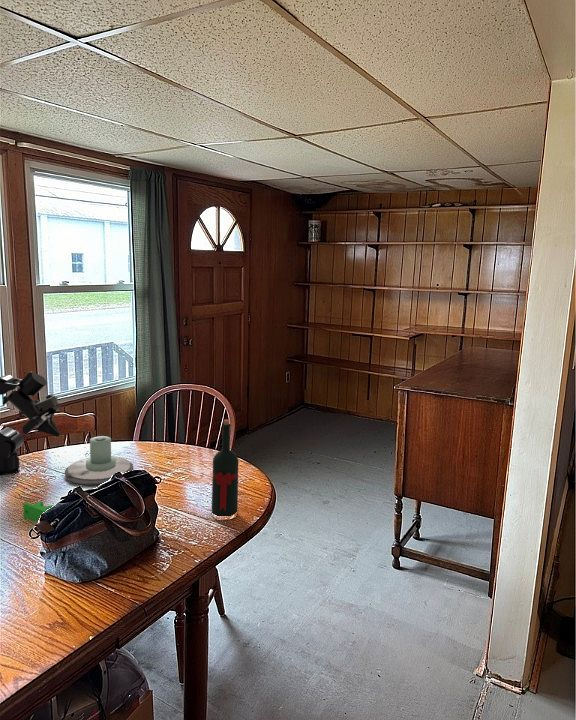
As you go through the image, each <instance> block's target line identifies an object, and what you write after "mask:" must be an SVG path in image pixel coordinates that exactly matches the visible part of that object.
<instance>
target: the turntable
mask: <svg viewBox="0 0 576 720" xmlns="http://www.w3.org/2000/svg"><path fill="white" fill-rule="evenodd" d="M111 457H114V458H115V459H116V466H115V467H114V468H112V469H110V470H106V471H90V470H88V469H86V461H87V460H88V459H89V458H90V457H85V458H82V459H79V460H76V461H74V462H73V463H70V465H69V466H67V467H66V468H65V470H64V478H65V480H66V482H68V483H70V484H72V485H76V486H80V485H82V486H81V487H99V486H98V485H100V484H102V483H104V482H106V481H108V480H109V479H110V478H111V476H112V475H113V474H114V473H116V472H122V473H125V472H128V471H132V470H133V471H134V464H133V463H132V461H129V460H128V459H127V458H124V457H120V456H115V455H111Z"/></svg>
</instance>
